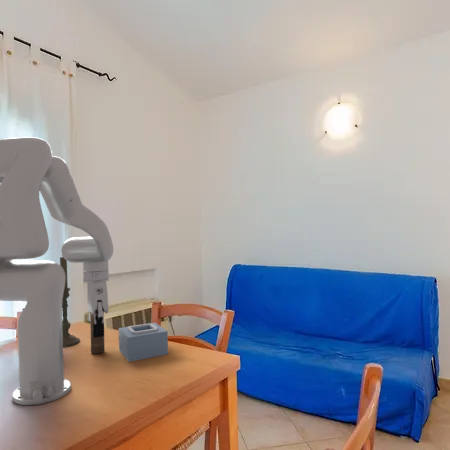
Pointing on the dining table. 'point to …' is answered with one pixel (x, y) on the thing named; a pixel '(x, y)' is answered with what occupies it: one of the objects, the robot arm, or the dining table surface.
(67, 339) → the candlestick holder
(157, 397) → the dining table surface
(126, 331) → the square peg hole block
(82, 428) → the dining table surface
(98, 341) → the walnut dowel
